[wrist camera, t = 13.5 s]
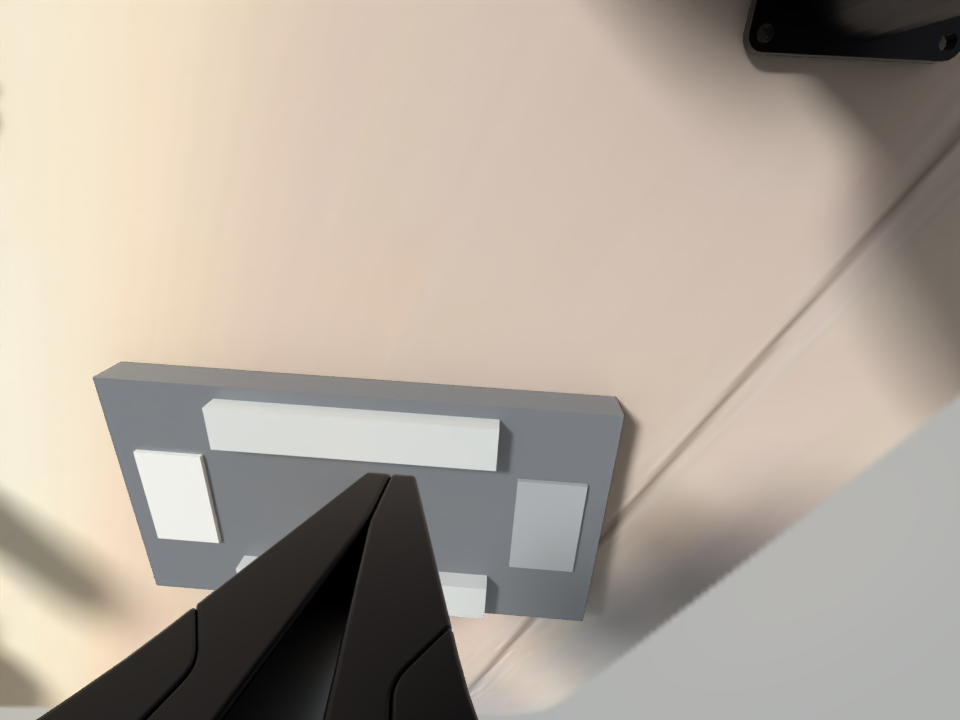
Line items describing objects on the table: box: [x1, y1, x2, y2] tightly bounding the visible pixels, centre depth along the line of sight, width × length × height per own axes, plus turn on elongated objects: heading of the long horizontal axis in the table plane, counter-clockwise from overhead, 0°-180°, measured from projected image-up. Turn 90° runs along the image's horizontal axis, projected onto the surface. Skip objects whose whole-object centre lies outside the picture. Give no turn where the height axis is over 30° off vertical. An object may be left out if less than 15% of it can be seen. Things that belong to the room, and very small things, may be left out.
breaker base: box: [93, 362, 624, 621], centre depth 22 cm, size 22×12×2 cm, turn 87°
